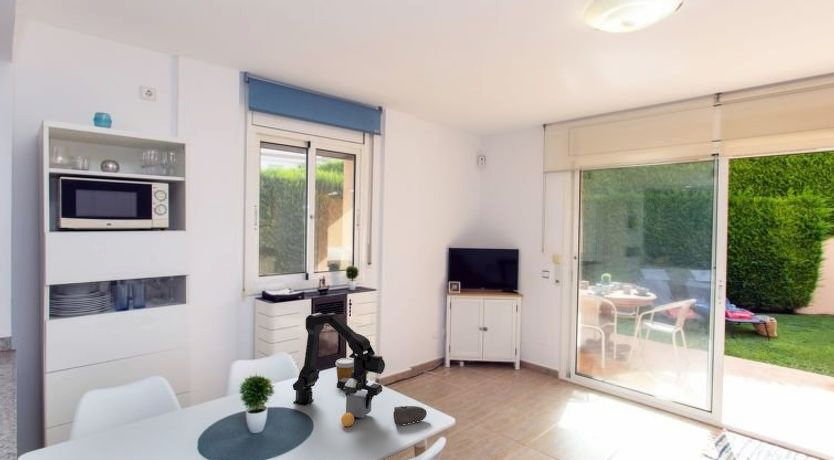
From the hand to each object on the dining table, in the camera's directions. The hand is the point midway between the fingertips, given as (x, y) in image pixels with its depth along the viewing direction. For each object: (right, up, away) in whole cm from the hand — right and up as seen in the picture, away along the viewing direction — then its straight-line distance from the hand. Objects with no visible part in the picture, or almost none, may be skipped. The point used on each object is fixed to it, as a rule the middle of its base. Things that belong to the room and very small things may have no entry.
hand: (358, 407), depth 176 cm
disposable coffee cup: (-12, -4, +35) cm, 37 cm away
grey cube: (0, -2, 0) cm, 2 cm away
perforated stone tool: (+21, -5, -4) cm, 22 cm away
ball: (-3, -1, -8) cm, 9 cm away
